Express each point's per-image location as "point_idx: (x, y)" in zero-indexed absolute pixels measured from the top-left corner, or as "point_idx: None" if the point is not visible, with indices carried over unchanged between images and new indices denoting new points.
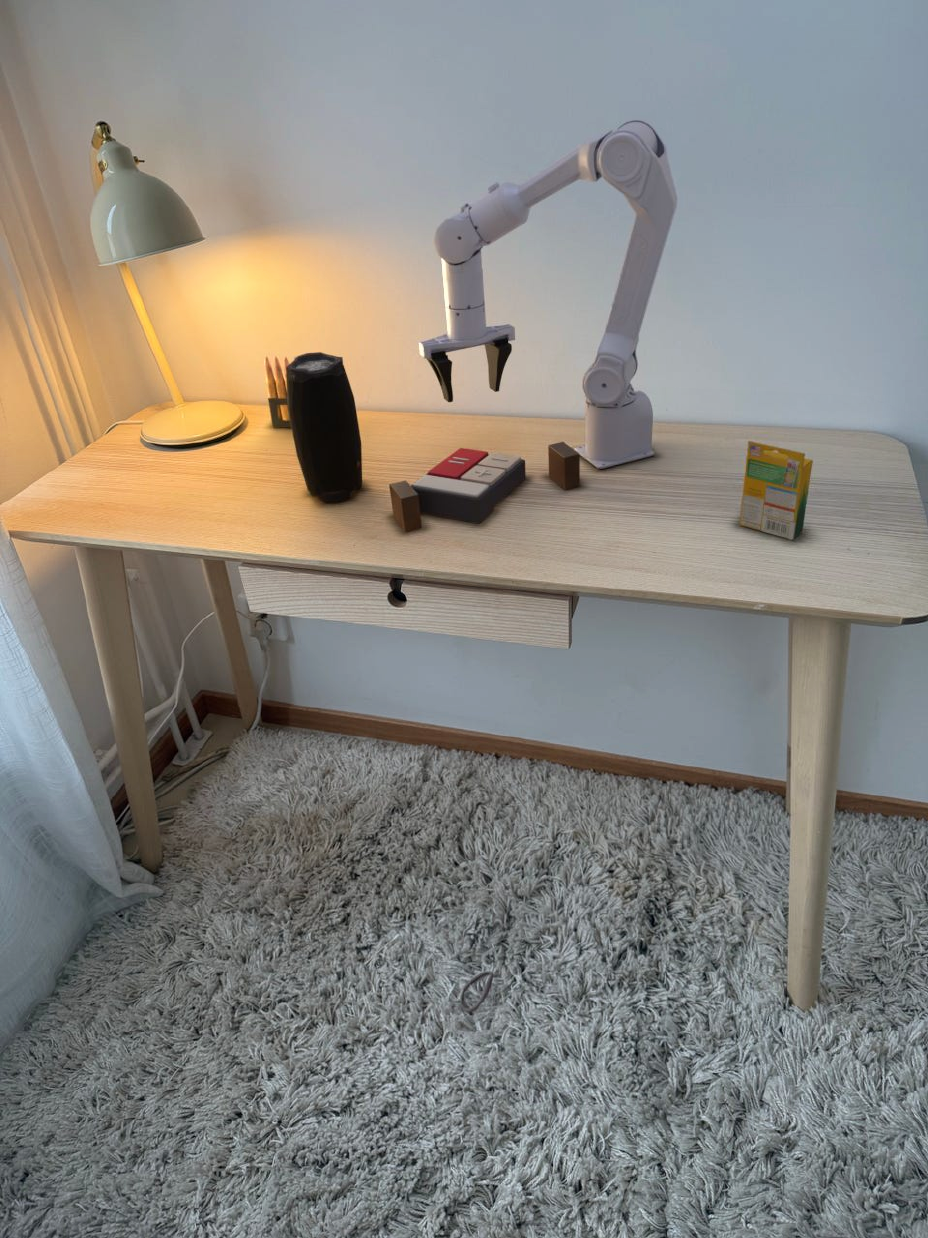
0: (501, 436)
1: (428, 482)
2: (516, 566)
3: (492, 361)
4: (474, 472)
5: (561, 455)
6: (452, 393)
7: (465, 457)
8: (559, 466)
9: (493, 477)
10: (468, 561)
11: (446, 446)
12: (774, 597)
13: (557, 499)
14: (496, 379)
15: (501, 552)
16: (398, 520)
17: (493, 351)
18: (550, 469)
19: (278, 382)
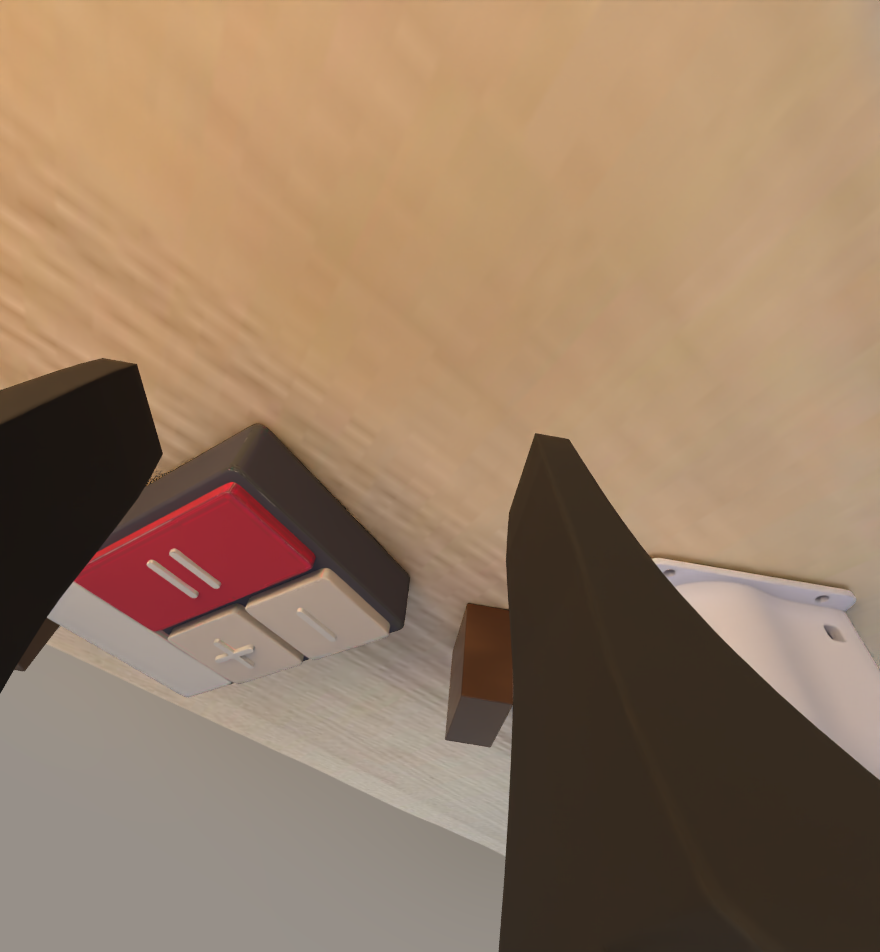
0: (577, 269)
1: (66, 613)
2: (236, 720)
3: (541, 722)
4: (213, 639)
5: (447, 732)
6: (124, 512)
7: (217, 564)
8: (452, 689)
9: (253, 674)
10: (165, 686)
11: (274, 171)
12: (471, 836)
13: (413, 661)
14: (510, 615)
15: (227, 696)
16: None
17: (535, 908)
18: (463, 633)
19: None
